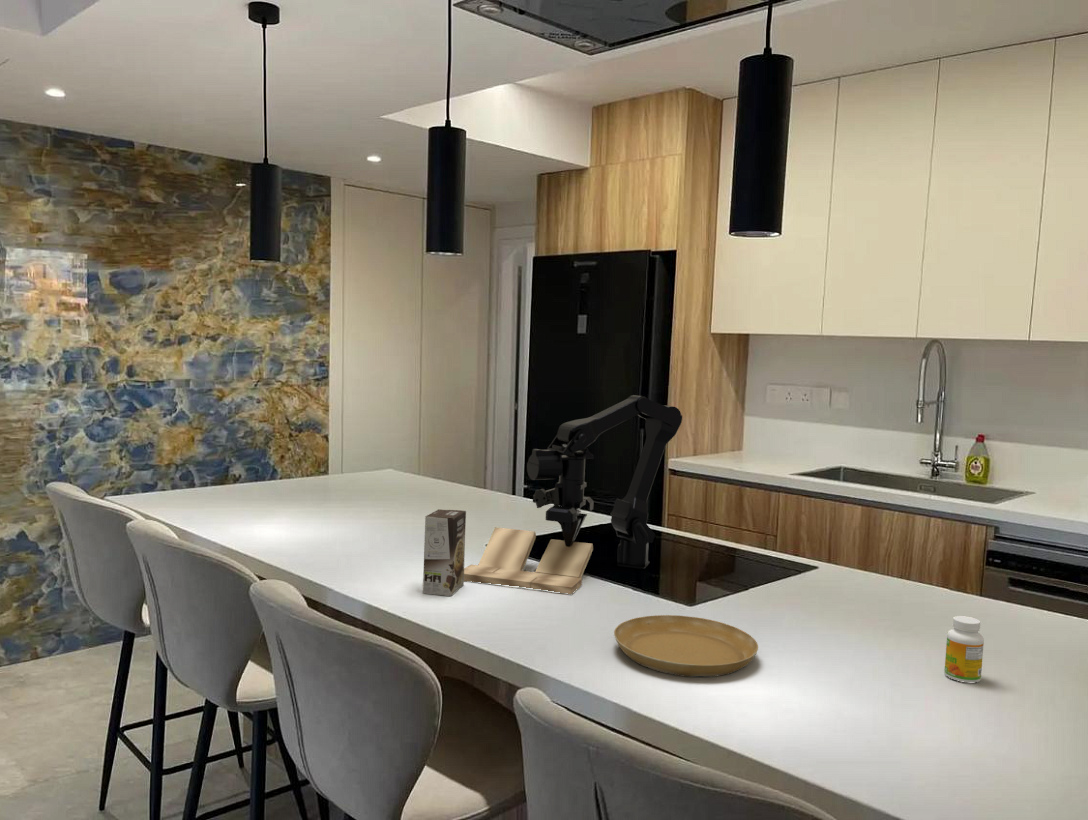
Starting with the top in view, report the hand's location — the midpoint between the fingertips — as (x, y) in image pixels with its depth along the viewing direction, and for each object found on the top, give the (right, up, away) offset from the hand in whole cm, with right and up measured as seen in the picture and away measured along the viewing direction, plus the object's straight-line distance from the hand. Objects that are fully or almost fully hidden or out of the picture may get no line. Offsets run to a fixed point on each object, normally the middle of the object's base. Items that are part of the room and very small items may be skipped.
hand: (568, 545), depth 198 cm
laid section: (-11, -6, -10) cm, 16 cm away
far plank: (-14, -2, +1) cm, 14 cm away
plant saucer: (+18, -11, -51) cm, 55 cm away
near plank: (-1, -3, -2) cm, 4 cm away
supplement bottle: (+62, -13, -57) cm, 85 cm away
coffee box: (-27, -7, -17) cm, 32 cm away
